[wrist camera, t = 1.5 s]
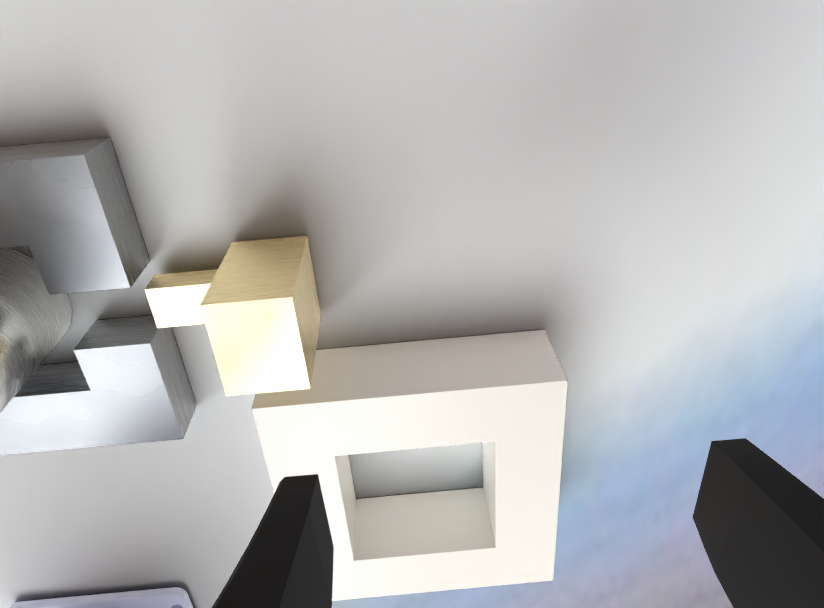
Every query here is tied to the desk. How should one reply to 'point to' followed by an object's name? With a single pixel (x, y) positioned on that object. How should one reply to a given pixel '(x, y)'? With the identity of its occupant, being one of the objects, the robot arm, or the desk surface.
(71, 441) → the socket block
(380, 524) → the white square block
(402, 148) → the desk surface
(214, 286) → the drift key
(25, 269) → the metal cylinder
